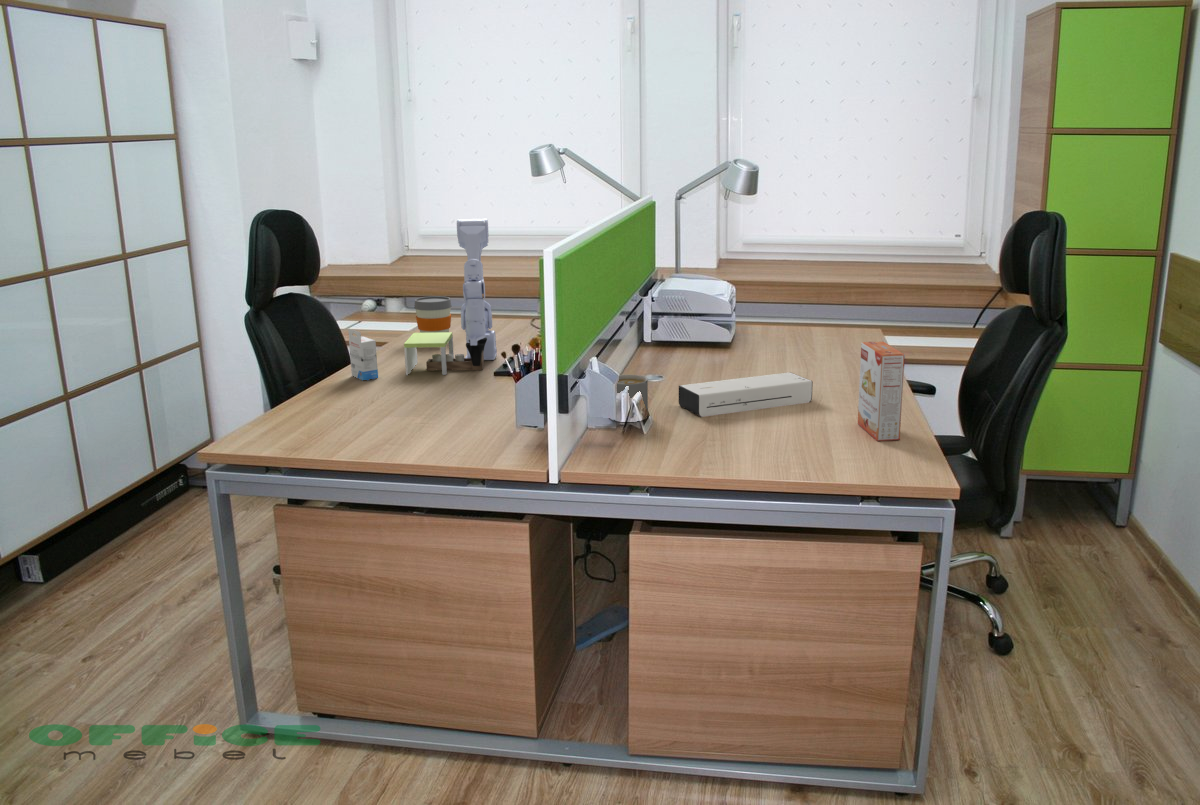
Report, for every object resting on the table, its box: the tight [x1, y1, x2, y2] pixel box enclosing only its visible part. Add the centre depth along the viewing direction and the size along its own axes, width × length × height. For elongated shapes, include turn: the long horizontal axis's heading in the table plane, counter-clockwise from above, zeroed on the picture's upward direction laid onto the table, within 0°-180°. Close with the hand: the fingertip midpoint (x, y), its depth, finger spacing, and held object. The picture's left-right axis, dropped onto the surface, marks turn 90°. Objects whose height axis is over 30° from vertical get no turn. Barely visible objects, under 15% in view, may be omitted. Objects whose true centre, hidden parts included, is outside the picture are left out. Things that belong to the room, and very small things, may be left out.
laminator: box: [678, 371, 813, 418], centre depth 268 cm, size 34×12×6 cm, turn 112°
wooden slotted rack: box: [425, 350, 485, 372], centre depth 311 cm, size 17×5×5 cm, turn 90°
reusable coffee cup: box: [414, 295, 452, 333], centre depth 348 cm, size 13×13×15 cm
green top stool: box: [403, 331, 455, 376], centre depth 311 cm, size 12×16×10 cm
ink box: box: [348, 328, 379, 381], centre depth 301 cm, size 8×5×15 cm, turn 39°
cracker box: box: [857, 341, 906, 442], centre depth 240 cm, size 14×6×21 cm, turn 5°
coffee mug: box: [617, 374, 649, 412], centre depth 256 cm, size 13×10×10 cm
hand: (477, 363), depth 312 cm, fingers closed on wooden slotted rack, 5 cm apart
